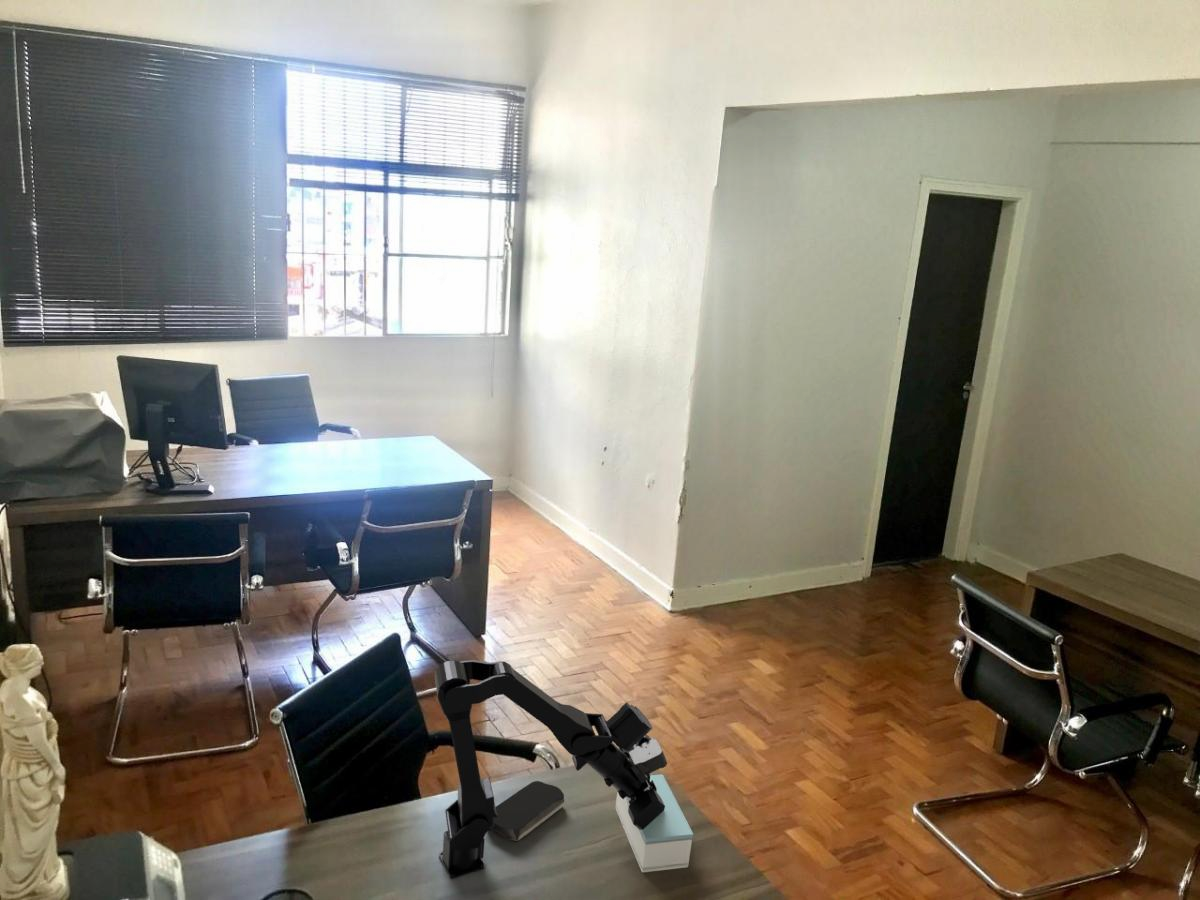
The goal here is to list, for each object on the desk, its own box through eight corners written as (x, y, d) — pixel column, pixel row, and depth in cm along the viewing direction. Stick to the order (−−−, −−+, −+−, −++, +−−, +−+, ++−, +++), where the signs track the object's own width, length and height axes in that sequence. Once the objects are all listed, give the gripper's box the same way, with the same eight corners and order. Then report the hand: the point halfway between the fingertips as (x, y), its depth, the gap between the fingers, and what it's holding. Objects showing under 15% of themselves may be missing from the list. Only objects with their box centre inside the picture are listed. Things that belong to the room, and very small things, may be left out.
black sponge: (512, 850, 166) (514, 833, 165) (479, 828, 171) (481, 812, 170) (567, 808, 179) (569, 793, 178) (535, 790, 183) (537, 774, 182)
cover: (645, 842, 161) (645, 838, 161) (618, 781, 178) (619, 777, 178) (692, 837, 164) (693, 834, 164) (662, 777, 180) (662, 774, 180)
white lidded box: (642, 872, 163) (645, 844, 161) (615, 808, 180) (618, 782, 178) (688, 867, 165) (691, 839, 164) (657, 804, 182) (660, 778, 180)
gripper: (659, 763, 155) (711, 811, 161) (628, 705, 172) (676, 750, 178) (611, 807, 155) (665, 853, 161) (586, 744, 172) (635, 787, 178)
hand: (661, 808), depth 169 cm, fingers closed
